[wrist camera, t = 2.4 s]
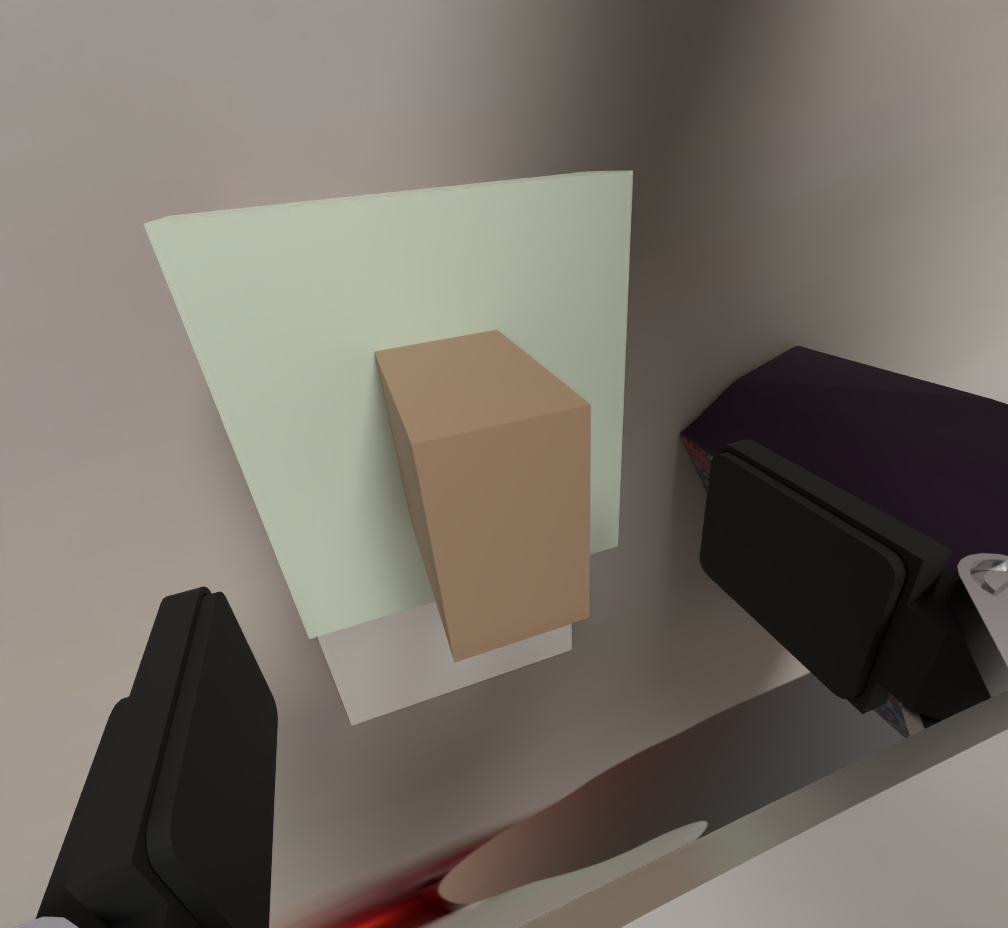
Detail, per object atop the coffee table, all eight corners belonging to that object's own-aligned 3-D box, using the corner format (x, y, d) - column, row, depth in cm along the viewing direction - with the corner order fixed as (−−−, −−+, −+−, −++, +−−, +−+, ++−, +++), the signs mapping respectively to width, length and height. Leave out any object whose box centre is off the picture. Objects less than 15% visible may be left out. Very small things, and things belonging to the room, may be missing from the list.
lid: (169, 215, 11) (20, 260, 5) (589, 171, 14) (807, 168, 8) (308, 589, 17) (311, 812, 11) (588, 511, 19) (714, 659, 14)
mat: (279, 530, 22) (278, 536, 21) (564, 459, 25) (568, 463, 24) (351, 719, 28) (351, 725, 28) (569, 644, 31) (572, 649, 31)
